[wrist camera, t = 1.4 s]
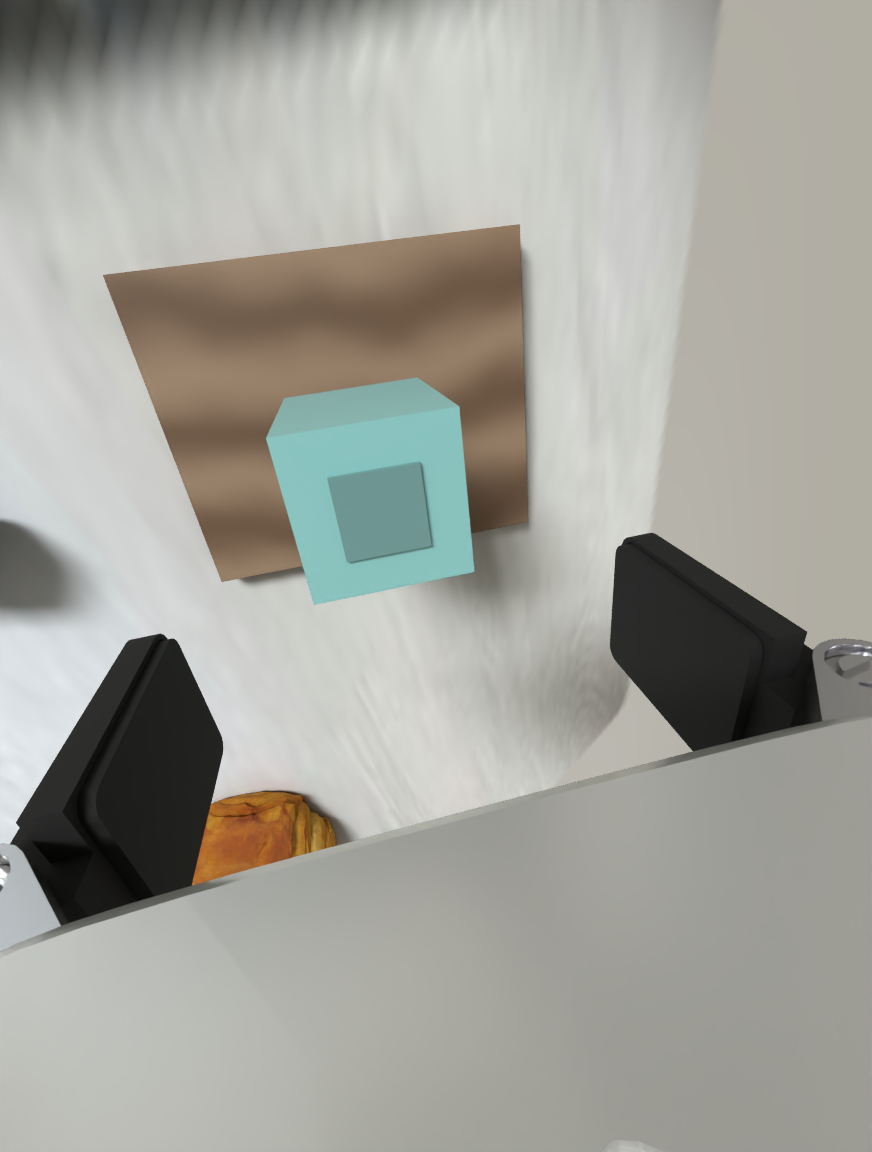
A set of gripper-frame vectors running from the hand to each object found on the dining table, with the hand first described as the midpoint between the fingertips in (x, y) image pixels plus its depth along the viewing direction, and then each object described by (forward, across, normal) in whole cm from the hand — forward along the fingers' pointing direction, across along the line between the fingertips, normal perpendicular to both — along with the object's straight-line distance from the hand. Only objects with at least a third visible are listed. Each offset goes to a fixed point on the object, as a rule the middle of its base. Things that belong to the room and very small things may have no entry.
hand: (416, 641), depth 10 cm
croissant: (+26, +17, +37) cm, 49 cm away
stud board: (+25, 0, 0) cm, 25 cm away
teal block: (+15, 0, 0) cm, 15 cm away
